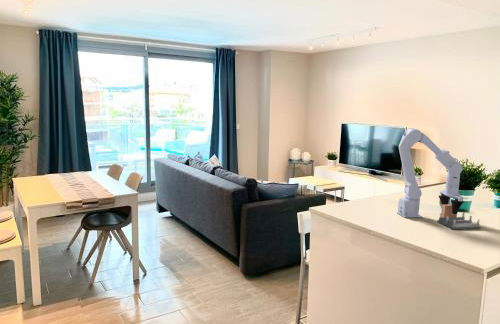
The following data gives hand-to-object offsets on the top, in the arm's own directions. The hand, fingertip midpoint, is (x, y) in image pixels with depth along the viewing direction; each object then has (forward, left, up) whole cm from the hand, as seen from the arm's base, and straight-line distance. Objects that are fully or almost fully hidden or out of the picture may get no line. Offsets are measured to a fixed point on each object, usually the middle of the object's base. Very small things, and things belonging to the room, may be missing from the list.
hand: (449, 211), depth 189 cm
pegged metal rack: (-3, -11, -4) cm, 12 cm away
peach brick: (0, 0, -4) cm, 4 cm away
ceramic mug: (+13, +18, -4) cm, 22 cm away
